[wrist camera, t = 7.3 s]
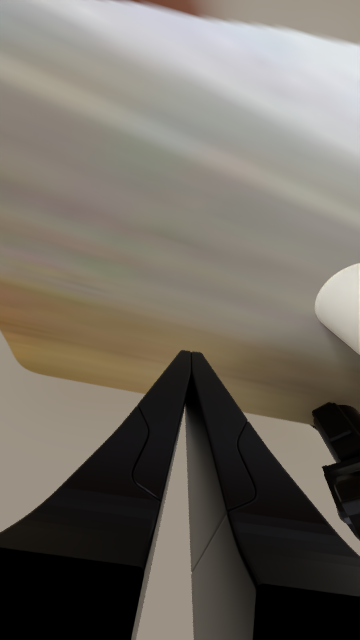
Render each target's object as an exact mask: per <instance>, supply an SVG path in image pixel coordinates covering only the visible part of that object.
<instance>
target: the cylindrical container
mask: <svg viewBox="0 0 360 640" xmlns="http://www.w3.org/2000/svg"><path fill="white" fill-rule="evenodd" d="M315 312H316V316H317V318H318V319H319V321H320V322H321V323H322V324H323V325H325V326H326V327H327V328H328V329H329V330H330V331H332V332H333V333H334V334H335V335H336V336H338V337H339V338H340V339H341V340H342V341H343V342H345V343H346V344H347V345H348V346H349V347H351V348H352V349H353V350H354V351H355V352H357V353H358V354H359V355H360V263H359V264H354V265H352V266H349V267H347V268H345V269H343V270H341V271H339V272H338V273H336V274H335V275H334V276H332V277H331V278H330V279H329V280H328V281H327V282H326V283H325V284H324V286H323V287H322V288H321V290H320V292H319V294H318V295H317V298H316V302H315Z"/></svg>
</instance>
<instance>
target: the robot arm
mask: <svg viewBox="0 0 360 640" xmlns="http://www.w3.org/2000/svg"><path fill="white" fill-rule="evenodd" d="M184 407H185V420H186V445H187V472H188V498H189V524H190V550H191V571H192V575H191V578H192V602H193V603H192V604H193V627H194V640H360V556H359V555H358V554H357V553H356V552H355V551H354V550H353V549H352V548H351V547H350V546H349V545H348V544H347V543H346V542H345V541H344V540H343V539H342V538H341V537H340V536H339V535H338V534H337V532H336V531H335V530H334V529H333V528H332V526H331V525H330V524H329V523H328V522H327V521H326V519H325V518H324V517H323V516H322V514H321V513H320V512H319V511H318V509H317V508H316V507H315V506H314V505H313V503H312V502H311V501H310V500H309V499H308V497H307V496H306V495H305V494H304V492H303V491H302V490H301V489H300V488H299V486H298V485H297V484H296V483H295V482H294V480H293V479H292V478H291V477H290V475H289V474H288V473H287V472H286V470H285V469H284V468H283V467H282V465H281V464H280V463H279V462H278V460H277V459H276V458H275V457H274V455H273V454H272V453H271V452H270V450H269V449H268V448H267V446H266V445H265V444H264V442H263V441H262V439H261V438H260V437H259V435H258V434H257V432H256V431H255V430H254V428H253V427H252V425H251V424H250V423H249V422H247V418H246V417H245V415H244V414H243V412H242V411H241V409H240V408H239V407H238V405H237V404H236V402H235V401H234V399H233V398H232V396H231V395H230V393H229V392H228V391H227V389H226V388H225V386H224V385H223V383H222V382H221V380H220V379H219V378H218V376H217V375H216V373H215V372H214V370H213V369H212V367H211V366H210V364H209V363H208V362H207V360H206V359H205V357H204V356H203V354H202V353H200V352H190V351H185V350H181V351H180V352H179V353H178V355H177V356H176V357H175V358H174V360H173V361H172V362H171V363H170V365H169V366H168V367H167V368H166V370H165V371H164V372H163V373H162V375H161V376H160V377H159V378H158V380H157V381H156V382H155V383H154V385H153V386H152V387H151V388H150V390H149V391H148V392H147V393H146V395H145V396H144V397H143V399H142V400H141V401H140V402H139V403H138V405H137V406H136V407H135V408H134V410H133V411H132V412H131V413H130V415H129V416H128V417H127V418H126V419H125V420H124V422H123V423H122V424H121V425H120V426H119V427H118V429H117V430H116V431H115V432H114V433H113V434H112V435H111V436H110V437H109V438H108V439H107V440H106V441H105V442H104V443H103V444H102V445H101V446H100V447H99V448H98V449H97V450H96V451H95V452H94V453H93V454H92V455H91V456H90V457H89V458H88V459H87V460H86V461H85V462H84V463H83V464H82V465H81V466H80V467H79V468H78V469H77V470H76V471H75V472H74V473H73V474H72V475H71V476H70V477H69V478H68V479H67V480H66V481H65V482H64V483H63V484H62V485H61V486H60V487H59V488H58V489H57V490H56V491H55V492H54V493H53V494H52V495H51V496H50V497H49V498H47V499H46V500H45V501H44V502H43V503H42V504H41V505H39V506H38V507H37V508H35V509H34V510H33V511H32V512H31V513H29V514H28V515H26V516H25V517H24V518H22V519H21V520H19V521H18V522H16V523H15V524H13V525H11V526H10V527H8V528H7V529H5V530H4V531H2V532H0V640H136V636H137V631H138V626H139V622H140V617H141V612H142V608H143V603H144V598H145V593H146V589H147V583H148V579H149V574H150V570H151V565H152V560H153V555H154V550H155V546H156V541H157V536H158V531H159V527H160V522H161V517H162V512H163V508H164V503H165V498H166V494H167V489H168V484H169V479H170V475H171V470H172V465H173V460H174V456H175V451H176V446H177V441H178V437H179V432H180V427H181V422H182V417H183V413H184ZM312 413H313V414H312V415H313V417H314V425H315V426H314V425H310V426H312V427H313V428H315V429H316V430H317V431H318V432H319V433H320V435H321V437H322V438H323V440H324V442H325V444H326V446H327V447H328V449H329V451H330V453H331V454H332V456H333V458H334V459H335V461H336V463H335V464H332V465H329V466H327V465H325V466H323V467H322V468H323V471H324V476H325V479H326V481H327V483H328V486H329V489H330V491H331V494H332V496H333V499H334V502H335V504H336V508H337V511H338V515H339V517H340V519H341V520H342V521H343V522H344V523H346V524H347V525H348V526H349V528H350V529H351V531H352V532H353V533H354V535H355V536H356V537H357V538H358V539H359V540H360V414H359V412H358V411H357V410H356V409H355V408H353V407H351V406H347V405H337V404H336V403H327V404H325V405H323V406H321V407H319V408H317V409H315V410H313V411H312Z"/></svg>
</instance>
